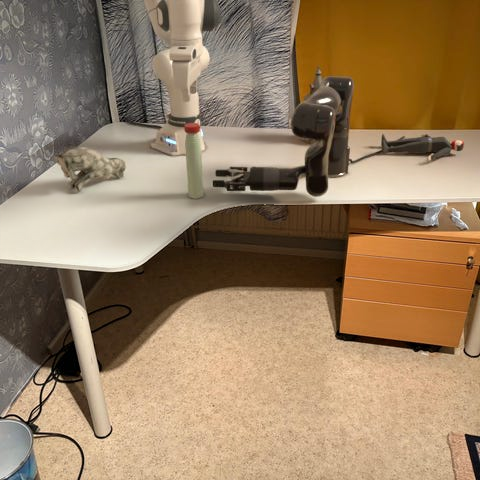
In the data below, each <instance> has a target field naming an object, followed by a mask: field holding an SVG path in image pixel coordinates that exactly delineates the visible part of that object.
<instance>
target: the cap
mask: <svg viewBox="0 0 480 480" xmlns="http://www.w3.org/2000/svg"><path fill="white" fill-rule="evenodd" d="M184 126H185V127H184V129H185V132H186V133H198V132H199V131H200V126H199V124H198V123H188V124H185V125H184Z"/></svg>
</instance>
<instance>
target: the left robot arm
mask: <svg viewBox="0 0 480 480" xmlns="http://www.w3.org/2000/svg"><path fill="white" fill-rule="evenodd" d="M143 2H144V6H145V10H146V12H147V15H148V17H149V20H150V23H151V27H152V28H153V31H154V33H155V35H156V36H157V37H158V38H159V39H161V40H162V41H164V42H165V43H166V44H167V46H168V47H169V48H166V49H164V50H162V51H160V52H158V53H156V54H155V55H154V56H153V59H152V62H151V66H152V72H153V73H154V75H155V77H156V78H157V79H159V80H160V81H161V82H162V83H163V85H164V87H165V88H166V91H167V94H168V99H169V106H170V107H169V108H170V109H169V110H170V113H168V114H167V115H165V119H166V120H167V123H166V124H164V125H163V126H161V125H157V124H156V125H155V124H147V123H141V122H134V121H131V119H132V115H131V114H129V115H128V117H127V122H128V123H129V124H131V125H134V126H141V127H147V128H156V129H158V130H157V131H156V134H155V135H156V136H155V137H156V138H155V141H153V142H151V144H150V148H152V149H154V150H157V151H159V152H161V153H164V154H167V155H169V156H174V157H175V156H176V157H177V156H182V155H183V156H186V149H185V140H186V134H187V133H186V132H185V129H184V127H185V126H184V125H185V124H188V123H198V124H199V126H200V131H199V132H198V134H199V138H200V141H201V152H204V151H205V149H206V145H205V142H204V139H203V138H204V133H203V131H202V130H203V129H202V127H201V126H202V115H201V112H200V100H199V99H200V98H199V97H200V95H199V92H198V91H197V87H198V78H199V77H200V76H201V74H202V72H203V71H204V70H205V69H207V68H208V67H209V64H210V60H211V59H210V53H209V50H208V48H207V47H206V46H205V45H203V34H202V32H212V31H213V30H214V29H215V28H216V27H217V26H218V24H219V23H220V21H221V15H222V14H221V7H220V4H219V2H218V1H217V0H143Z"/></svg>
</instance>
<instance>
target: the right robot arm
mask: <svg viewBox="0 0 480 480" xmlns="http://www.w3.org/2000/svg"><path fill="white" fill-rule="evenodd" d="M354 92H355V81H354V79H353V78H352V77H351V76H350V77H349V76H336V75H335V76H333V75H330V76H325V77H323V78H322V82H321V84H320V86H319V88H318V89H317V91H315V92H314V93H313V94H312V95H311V97H310V98H309V99H308V100H306V101H304V100H303V101H302V102H300V103H298V105H297V106H296V107H295V109H294V110H293V113H292V115H291V118H290V119H291V120H290V128H291V132H292V134H293V135H294V136H295V137H297V138H300V139H306V140H307V139H309V140H313V141H314V140H316V142H315V143H314V142H313V143H311V145H309V146H308V148H306V149H307V150H306V151H305V153H304V165H301V166H295V167H274V166H250V168H248V167H247V166H229V168H227V169H215V171H214V173H215V177H217V178H229V179H225V180H224V179H213V180H212V188H224V190H226V192H245V191H246V189H247V187H249V190H250V191H251V192H274V191H295V190H297V188H298V185H299V181H300V180H302V179H304V178H305V190H306V192H307V193H308V194H309V196H312V197H316V198H320V197H322V196H324V195H325V194H326V193H327V192H328V190H329V178H339V177H343V176H345V175H346V174H349V166H350V164H356V163H358V162H360V161H362V160H364V159H367V158H370V157H372V156H373V157H374V156H376V155H378V154H382V149H380V150H378V151H375V152H373V153H369V154H366V155H364V156H361V157H359V158H357V159H355V160H353V159H352V158H350V154H351V147H350V146H349V138H350V137H349V134H350V127H351V126H350V125H351V113H352V104H353V98H354ZM403 139H406V136H405V135H403V136H401V137H400V138H398V139H397V140H403ZM388 147H389V146H388ZM390 147H392V146H390Z"/></svg>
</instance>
